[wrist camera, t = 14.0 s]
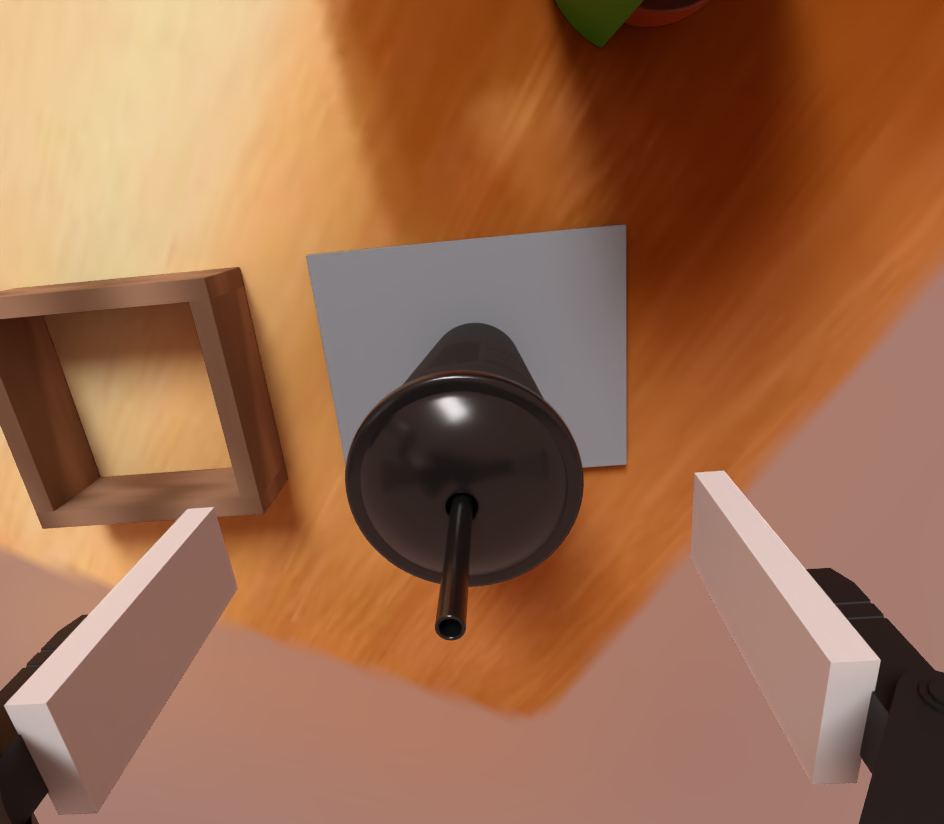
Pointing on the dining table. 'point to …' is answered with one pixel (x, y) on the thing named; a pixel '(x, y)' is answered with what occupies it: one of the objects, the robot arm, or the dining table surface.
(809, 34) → the dining table surface
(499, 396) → the drinking cup
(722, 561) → the robot arm
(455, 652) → the dining table surface
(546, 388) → the slate mat
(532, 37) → the dining table surface
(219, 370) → the walnut collar
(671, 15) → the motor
